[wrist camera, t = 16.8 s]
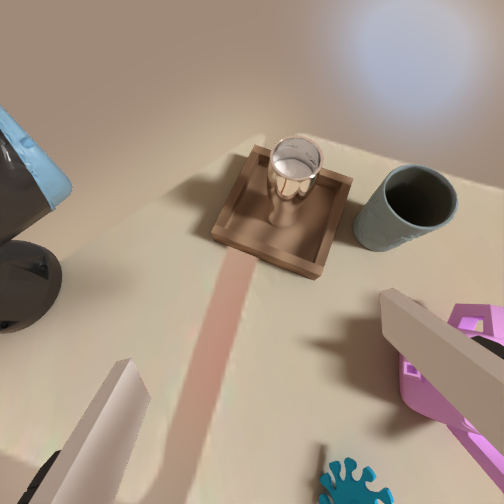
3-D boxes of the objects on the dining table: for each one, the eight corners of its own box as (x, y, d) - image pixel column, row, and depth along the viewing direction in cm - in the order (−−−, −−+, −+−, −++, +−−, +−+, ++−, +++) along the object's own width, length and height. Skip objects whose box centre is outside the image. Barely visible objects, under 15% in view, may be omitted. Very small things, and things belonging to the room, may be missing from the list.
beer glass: (277, 189, 44) (289, 125, 30) (307, 209, 43) (336, 152, 29) (255, 215, 43) (256, 161, 28) (286, 237, 41) (304, 192, 27)
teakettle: (521, 385, 36) (655, 417, 24) (446, 463, 33) (556, 543, 21) (437, 294, 40) (515, 281, 28) (363, 356, 37) (416, 372, 25)
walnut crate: (214, 240, 42) (210, 232, 38) (254, 159, 47) (254, 144, 44) (314, 280, 40) (320, 275, 36) (344, 190, 45) (353, 178, 42)
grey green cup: (355, 257, 41) (395, 233, 30) (342, 206, 44) (374, 166, 33) (410, 251, 42) (471, 225, 30) (394, 201, 45) (444, 159, 33)
